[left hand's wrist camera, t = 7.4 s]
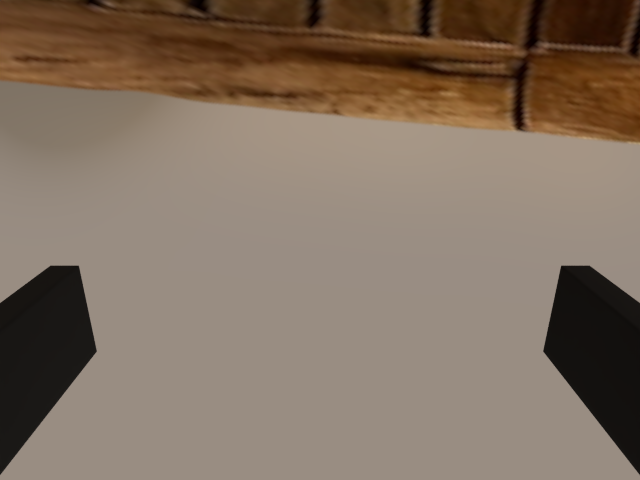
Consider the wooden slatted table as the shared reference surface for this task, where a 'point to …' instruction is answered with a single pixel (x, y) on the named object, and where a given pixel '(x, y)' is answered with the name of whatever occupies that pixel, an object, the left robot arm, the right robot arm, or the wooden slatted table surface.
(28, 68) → the wooden slatted table surface
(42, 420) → the left robot arm
